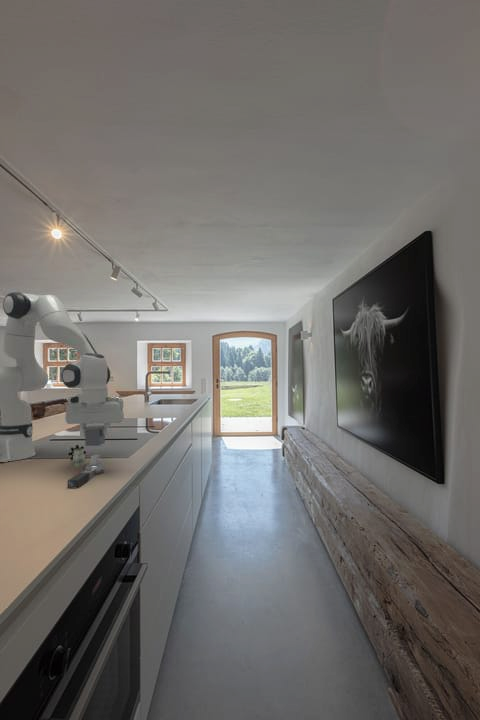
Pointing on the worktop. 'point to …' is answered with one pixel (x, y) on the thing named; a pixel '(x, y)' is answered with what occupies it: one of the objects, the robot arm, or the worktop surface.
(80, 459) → the valve
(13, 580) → the worktop surface
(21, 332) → the robot arm
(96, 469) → the ratchet
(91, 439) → the plain grey cube
